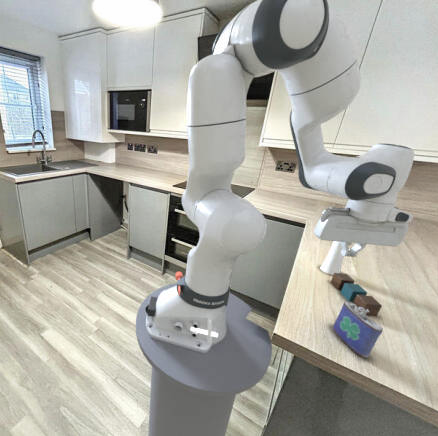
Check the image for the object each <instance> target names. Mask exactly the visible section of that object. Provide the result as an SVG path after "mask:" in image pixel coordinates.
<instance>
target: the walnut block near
mask: <svg viewBox="0 0 438 436" xmlns="http://www.w3.org/2000/svg"><path fill="white" fill-rule="evenodd" d="M352 303H353V304H356V306H357V307H358V308H359V307H362V308H364V309H365V310H367V309H368V310H369V313H368V312H366V313H367V314H366V316H368V317H369V316H370V317H377V316H378V314H379V312H380V311H381V308H382V307H383V305H382V304H381V303H380V302H379V301H377V299H375V297H373V296H372V295H368V294H366V295H357V296H356V298H355V300H354V302H352Z"/></svg>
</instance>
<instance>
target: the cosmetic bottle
mask: <svg viewBox="0 0 438 436" xmlns="http://www.w3.org/2000/svg"><path fill="white" fill-rule="evenodd" d="M341 251H342V246H341V243H340V242H337V241H332V244H331V246H330V248H329V251H328V254H327V255H326V257H325V259H324V261H323V263H322V264H321V266H320V270H321V271H322V272H323V273H325V274H327V275H330V276H333V275H334V273H342V271H341V270H342V265H343V261H344V259H345V256H343V255H342V254H341Z"/></svg>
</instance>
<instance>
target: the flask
mask: <svg viewBox="0 0 438 436" xmlns="http://www.w3.org/2000/svg"><path fill="white" fill-rule="evenodd" d="M366 312H368V313H369V310H368V309H367V310H365V309H364V308H362V307H359V308H358V307H357V306H356V304H353V302H349V301H344V302H343V305H342V306H341V309H340V311H339V313H338V316H337V317H336V319H335V321H334V324H333V326H332V329H331V330H332V332H333V333H334V334H335V335H336V336H337V337H338V339H339V340H340V341H341V342H343V343H344V345H345V346H347V347H348V348H349V349H350V350H351V351H352V352H353V353H354V354H356V355H357V356H358V357H360V358H362V359H367V358H369V356H370V355H371V353H372V350H373V348H374V347H375V345H376V343H377V341H378V339H379V338H380V336H381V335H382V333H383V330H384V328H383V327H382V326H381V325H380V324H378V323H377V322H375V321H374V320H373V319H371V318H370V317H369V316H368V315H366V314H367V313H366Z"/></svg>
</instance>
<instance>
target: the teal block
mask: <svg viewBox="0 0 438 436" xmlns="http://www.w3.org/2000/svg"><path fill="white" fill-rule="evenodd" d="M340 294H341V295H342V296H343V298H344V299H345V300H347V302H351V303H353V302H354V300H355V298H356V296H357V295H368V291H367V290H365V289H364V288H363V287H362V286H361V285H360V284H359V283H354V284H350V283H344V286H343V288H342V290H340Z"/></svg>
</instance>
